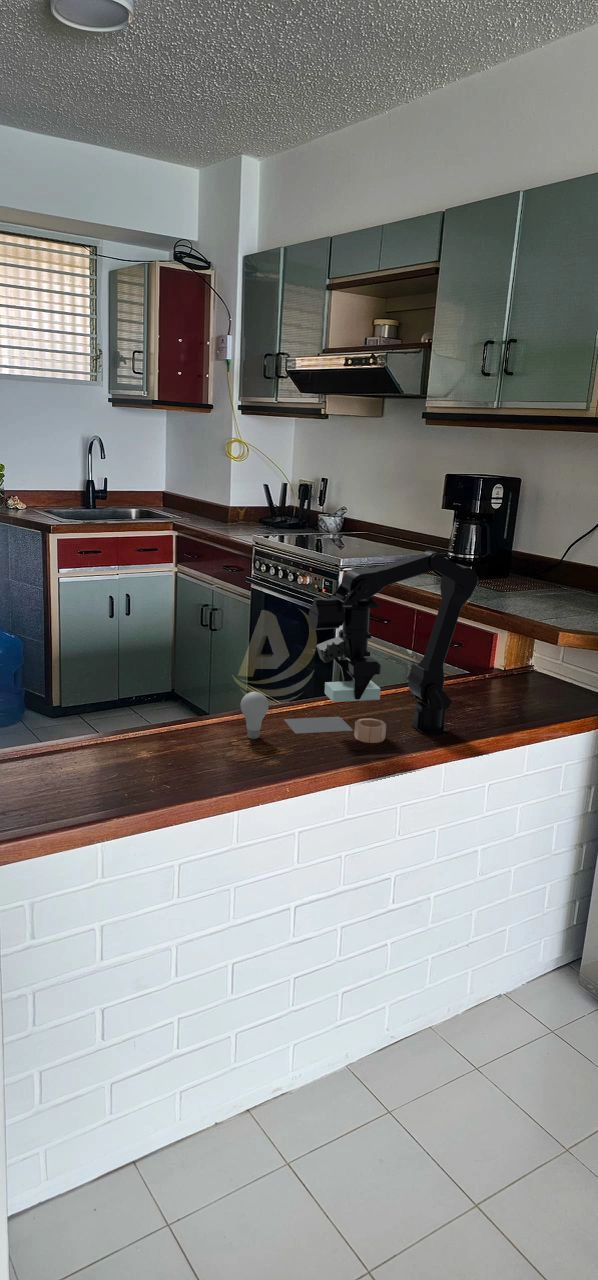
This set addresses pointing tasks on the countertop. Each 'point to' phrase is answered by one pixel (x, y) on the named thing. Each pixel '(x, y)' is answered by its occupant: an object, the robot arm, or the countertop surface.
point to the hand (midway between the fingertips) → (352, 694)
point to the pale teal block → (350, 691)
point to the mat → (318, 725)
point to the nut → (370, 730)
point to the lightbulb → (254, 712)
